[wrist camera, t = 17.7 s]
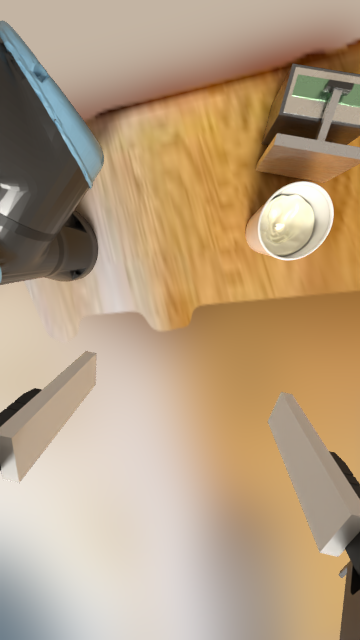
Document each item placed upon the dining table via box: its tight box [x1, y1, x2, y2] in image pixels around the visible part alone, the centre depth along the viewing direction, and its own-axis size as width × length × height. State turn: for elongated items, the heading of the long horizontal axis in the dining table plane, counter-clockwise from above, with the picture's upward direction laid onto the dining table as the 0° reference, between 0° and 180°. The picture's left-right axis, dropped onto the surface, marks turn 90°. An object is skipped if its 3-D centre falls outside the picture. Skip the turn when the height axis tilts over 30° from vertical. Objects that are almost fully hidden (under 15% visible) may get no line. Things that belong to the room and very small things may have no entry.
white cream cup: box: [245, 181, 334, 260], centre depth 32 cm, size 10×10×12 cm
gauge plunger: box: [256, 79, 360, 183], centre depth 29 cm, size 12×7×9 cm, turn 80°
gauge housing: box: [262, 64, 360, 145], centre depth 29 cm, size 12×5×8 cm, turn 80°
